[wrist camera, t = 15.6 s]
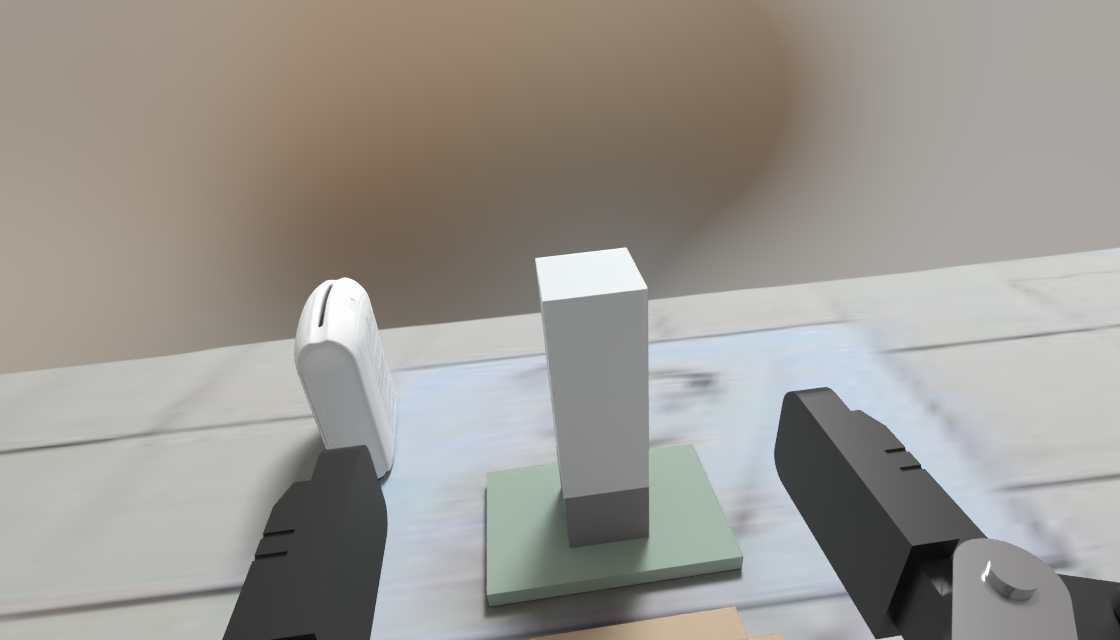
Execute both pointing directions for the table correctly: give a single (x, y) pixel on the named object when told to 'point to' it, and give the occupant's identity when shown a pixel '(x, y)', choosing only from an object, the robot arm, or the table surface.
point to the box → (598, 391)
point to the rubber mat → (556, 569)
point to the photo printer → (347, 371)
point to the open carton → (671, 629)
